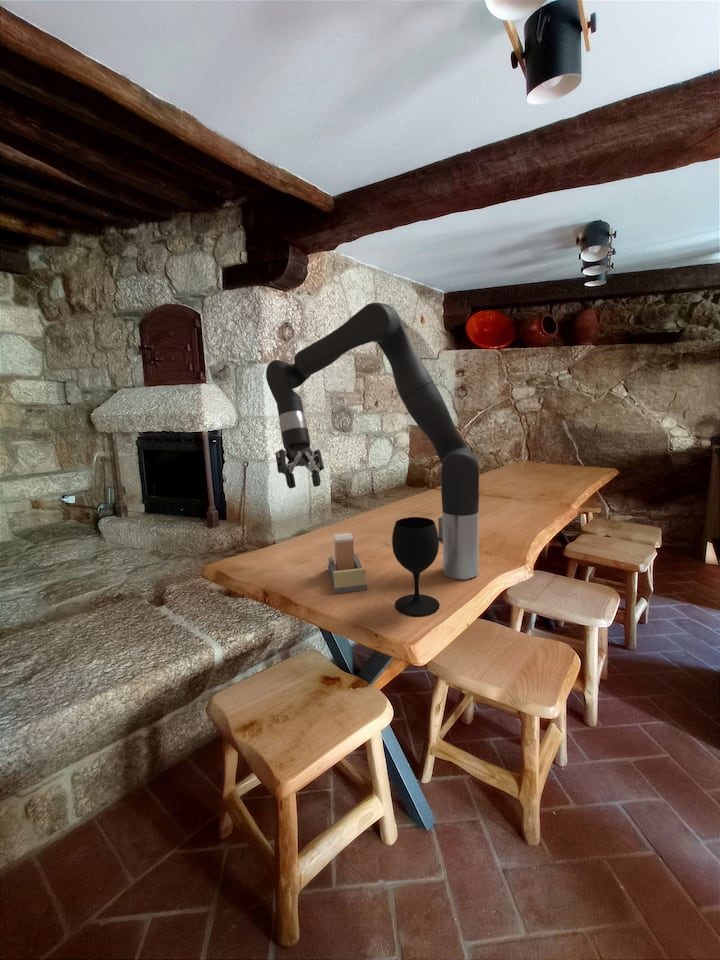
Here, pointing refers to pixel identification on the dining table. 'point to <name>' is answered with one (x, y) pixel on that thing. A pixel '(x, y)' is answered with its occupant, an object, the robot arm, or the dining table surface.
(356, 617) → the dining table surface
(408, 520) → the wine glass
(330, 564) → the key track
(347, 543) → the block
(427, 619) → the dining table surface
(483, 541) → the dining table surface
